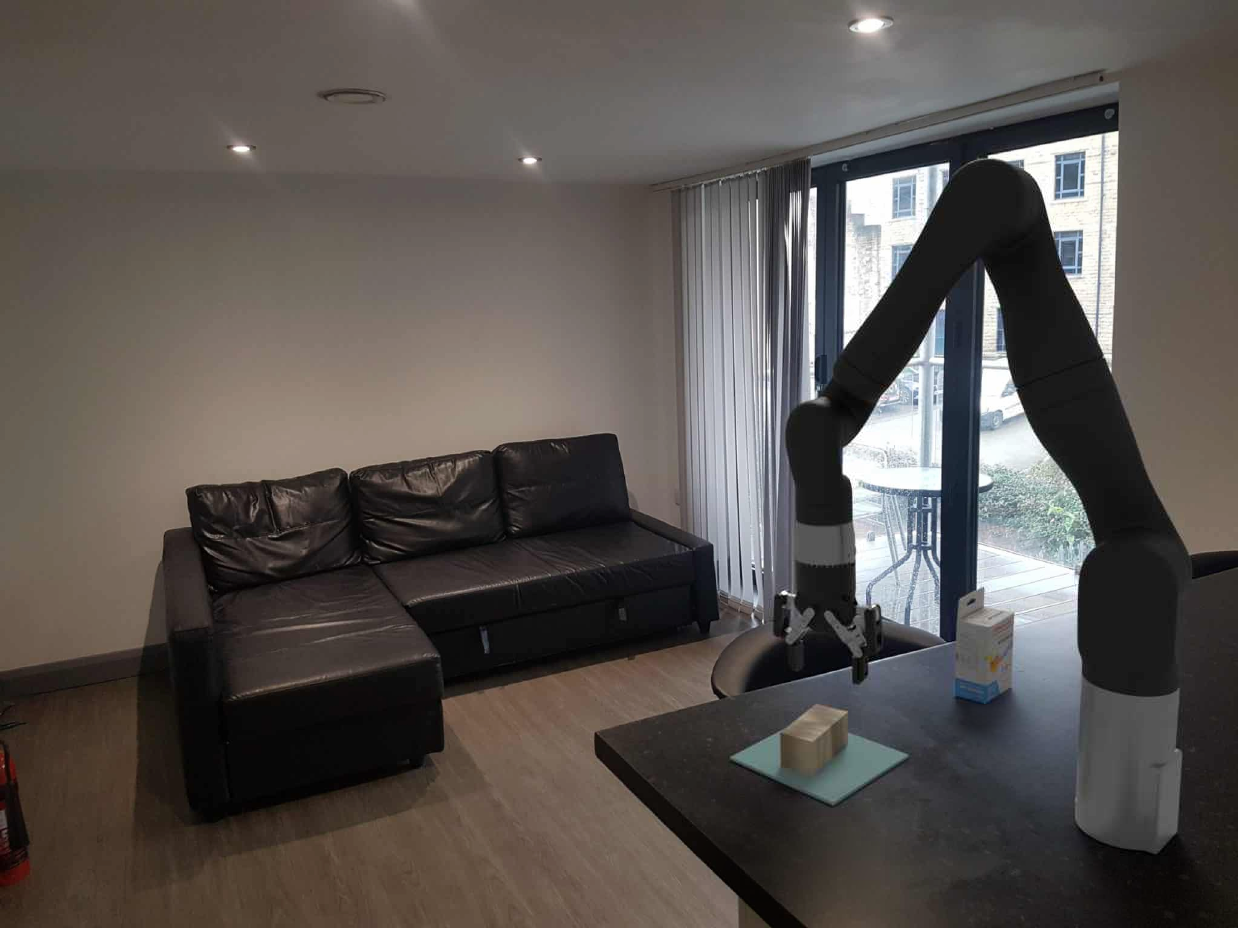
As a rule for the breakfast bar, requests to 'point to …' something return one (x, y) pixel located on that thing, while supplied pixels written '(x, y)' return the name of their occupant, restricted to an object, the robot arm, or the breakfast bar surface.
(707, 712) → the breakfast bar surface
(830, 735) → the block
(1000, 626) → the ink box
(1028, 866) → the breakfast bar surface
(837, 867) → the breakfast bar surface
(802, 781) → the mat
